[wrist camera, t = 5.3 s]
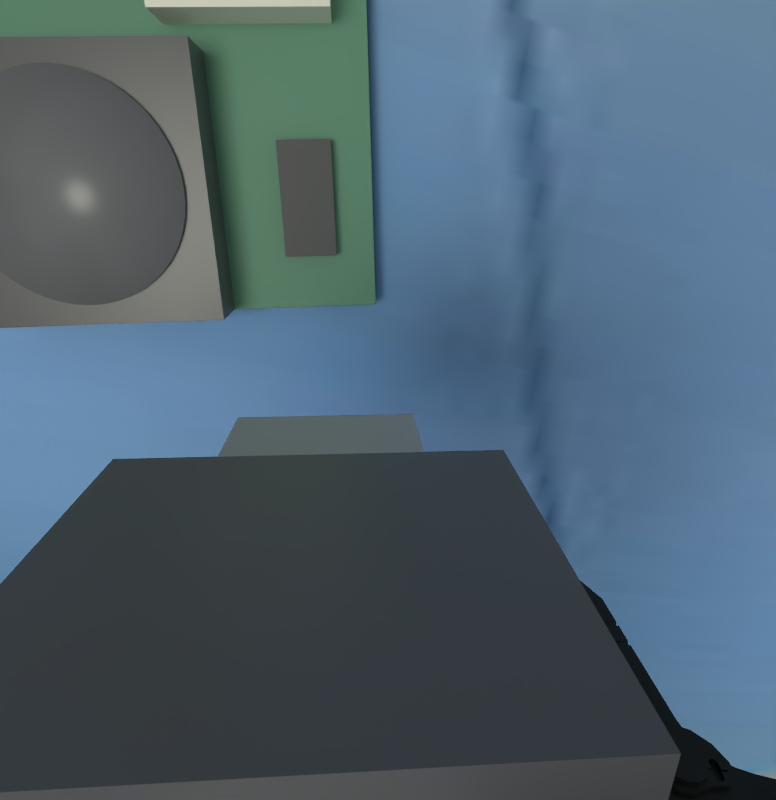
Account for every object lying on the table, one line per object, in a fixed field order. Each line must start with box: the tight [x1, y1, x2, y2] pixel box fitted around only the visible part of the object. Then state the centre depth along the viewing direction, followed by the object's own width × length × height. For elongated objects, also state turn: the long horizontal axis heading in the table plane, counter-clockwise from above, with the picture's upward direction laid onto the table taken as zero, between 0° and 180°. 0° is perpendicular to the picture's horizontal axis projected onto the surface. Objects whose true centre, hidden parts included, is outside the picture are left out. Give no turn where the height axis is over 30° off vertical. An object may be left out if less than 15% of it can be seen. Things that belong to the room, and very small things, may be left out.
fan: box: [0, 35, 235, 328], centre depth 24 cm, size 11×11×3 cm
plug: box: [0, 414, 681, 800], centre depth 9 cm, size 7×6×9 cm
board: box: [0, 0, 376, 309], centre depth 23 cm, size 22×18×3 cm
